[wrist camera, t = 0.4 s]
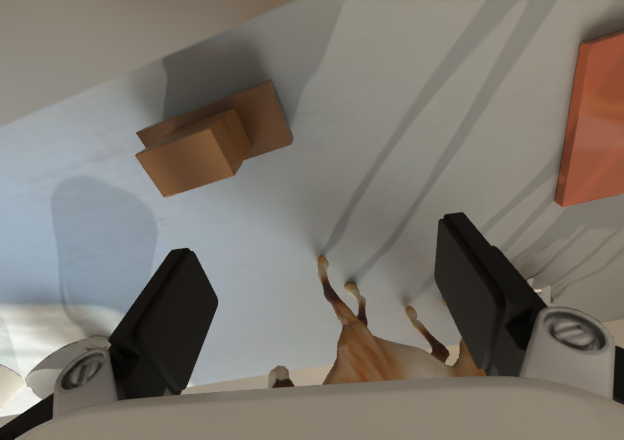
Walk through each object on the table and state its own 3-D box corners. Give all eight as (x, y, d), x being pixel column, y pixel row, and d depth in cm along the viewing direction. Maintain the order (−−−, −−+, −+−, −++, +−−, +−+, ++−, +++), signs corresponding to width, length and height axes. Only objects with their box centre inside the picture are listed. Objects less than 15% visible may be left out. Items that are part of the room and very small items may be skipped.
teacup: (106, 315, 45) (69, 364, 38) (156, 358, 51) (131, 407, 44) (37, 334, 48) (-9, 383, 41) (92, 373, 54) (59, 420, 47)
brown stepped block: (184, 170, 31) (133, 219, 23) (154, 123, 28) (84, 158, 20) (294, 133, 29) (284, 173, 20) (274, 77, 26) (252, 95, 17)
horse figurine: (276, 275, 39) (242, 463, 22) (297, 234, 35) (276, 422, 18) (458, 335, 45) (544, 519, 28) (493, 306, 41) (618, 498, 24)
